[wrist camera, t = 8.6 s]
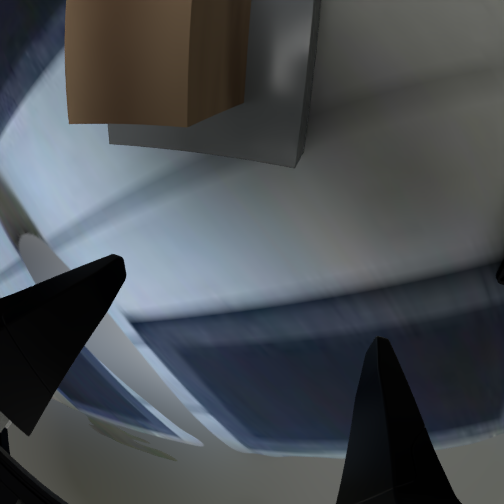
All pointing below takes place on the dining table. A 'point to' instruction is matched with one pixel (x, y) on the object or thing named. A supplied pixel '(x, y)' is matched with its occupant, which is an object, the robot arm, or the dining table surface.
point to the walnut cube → (154, 60)
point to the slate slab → (254, 94)
